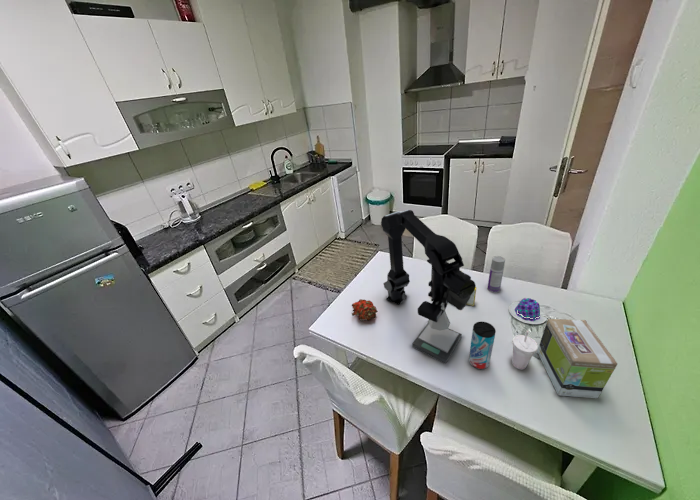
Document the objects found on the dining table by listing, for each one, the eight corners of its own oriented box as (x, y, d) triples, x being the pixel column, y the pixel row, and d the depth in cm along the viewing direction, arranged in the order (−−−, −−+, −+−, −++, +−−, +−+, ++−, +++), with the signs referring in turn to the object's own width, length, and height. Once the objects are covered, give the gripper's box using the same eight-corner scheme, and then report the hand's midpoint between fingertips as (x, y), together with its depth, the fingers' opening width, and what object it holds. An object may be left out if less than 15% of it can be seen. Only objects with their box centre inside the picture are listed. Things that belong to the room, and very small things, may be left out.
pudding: (526, 298, 108) (529, 288, 105) (555, 319, 98) (558, 308, 95) (501, 308, 106) (503, 297, 103) (527, 330, 96) (530, 319, 93)
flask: (451, 332, 89) (453, 309, 84) (428, 330, 91) (428, 308, 86) (449, 315, 95) (450, 293, 90) (427, 314, 97) (427, 292, 92)
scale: (412, 347, 96) (412, 342, 95) (429, 323, 104) (429, 318, 103) (445, 364, 89) (446, 359, 87) (461, 337, 97) (462, 332, 95)
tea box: (599, 399, 74) (620, 364, 66) (557, 396, 76) (572, 361, 68) (571, 352, 86) (586, 318, 79) (535, 350, 89) (546, 317, 81)
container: (488, 284, 118) (493, 254, 110) (500, 287, 115) (506, 257, 108) (486, 290, 115) (490, 260, 107) (498, 293, 112) (504, 263, 105)
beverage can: (466, 354, 91) (470, 322, 83) (484, 353, 90) (490, 320, 82) (472, 370, 86) (477, 337, 78) (492, 369, 85) (499, 336, 77)
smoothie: (529, 357, 87) (538, 326, 80) (533, 375, 82) (544, 343, 75) (506, 353, 89) (513, 322, 82) (508, 370, 84) (517, 339, 77)
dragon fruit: (377, 327, 107) (355, 318, 116) (385, 307, 109) (363, 299, 118) (365, 322, 102) (343, 312, 110) (374, 300, 104) (351, 292, 112)
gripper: (454, 307, 73) (451, 347, 81) (479, 271, 84) (474, 309, 92) (416, 293, 79) (416, 330, 87) (444, 261, 91) (442, 297, 99)
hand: (439, 316), depth 91 cm, fingers closed on flask, 5 cm apart
